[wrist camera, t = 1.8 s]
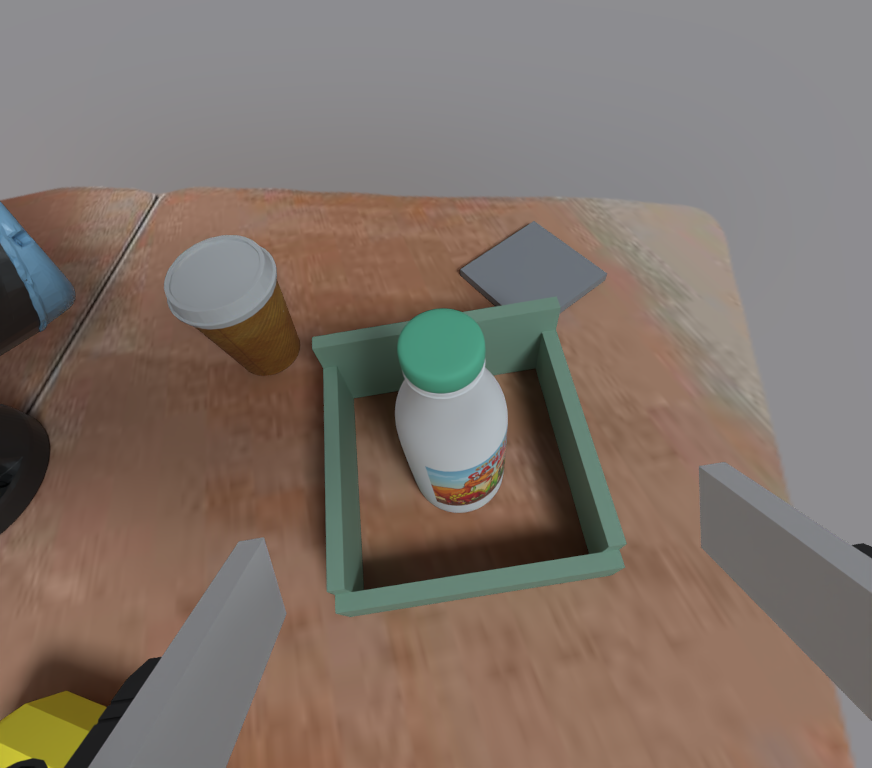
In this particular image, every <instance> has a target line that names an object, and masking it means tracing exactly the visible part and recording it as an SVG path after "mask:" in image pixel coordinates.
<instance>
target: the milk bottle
mask: <svg viewBox="0 0 872 768" xmlns="http://www.w3.org/2000/svg"><path fill="white" fill-rule="evenodd" d="M485 352H486V348H485V339H484V335H483V333H482V331H481V329H480V327H479V325H478V324H477V323H476V322H475V320H474V319H472V318H471V317H470V316H468V315H467V314H465V313H463V312H460V311H457V310H453V309H445V308H441V309H433V310H429V311H426V312H423V313H421V314H419V315H417V316H415V317H414V318H413V319H411V320H410V321H409V322H408V323H407V324H406V325H405V327H404V328H403V330H402V331H401V333H400V336H399V339H398V344H397V354H398V359H399V363H400V366H401V369H402V372H403V376H404V378H405V380H404V381H403V383H402V385H401V387H400V390H399V392H398V395H397V399H396V406H395V421H396V429H397V432H398V436H399V439H400V442H401V446H402V448H403V451H404V453H405V456H406V459H407V461H408V464H409V466H410V468H411V471H412V473H413V476H414V478H415V480H416V483H417V485H418V487H419V489H420V491H421V492H422V494H423V495H424V497H425V498H426V499H427V500H428V501H429V502H430V503H432V504H433V505H434V506H436V507H438V508H440V509H442V510H445V511H449V512H455V513H463V512H469V511H473V510H476V509H478V508H480V507H482V506H483V505H485V504H486V503H488V502H489V501H490V500H491V499H492V498H493V497H494V495H495V494H496V493H497V491H498V489H499V487H500V485H501V482H502V478H503V473H504V464H505V454H506V443H507V430H508V413H507V406H506V401H505V397H504V394H503V392H502V390H501V387H500V385H499V384H498V382H497V380H496V379H495V378H494V376H493V375H492V374H491V373H490V372H489V370H487V369H486V368H485Z"/></svg>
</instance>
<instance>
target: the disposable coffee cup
mask: <svg viewBox="0 0 872 768" xmlns="http://www.w3.org/2000/svg"><path fill="white" fill-rule="evenodd" d="M276 278H277V270H276V265H275V262H274V259H273V257H272V256H271V255H270V253H269V252H268V251H266V250H265V249H264V248H262V247H260V246H259V245H258V244H257V243H255V242H254V241H252V240H251V239H248V238H246V237H242V236H237V235H222V236H218V237H213V238H209V239H206V240H204V241H202V242H200V243H197V244H195V245H193V246H192V247H190V248H189V249H187V250H186V251H184V252H183V253H182V254H181V255H180V256H179V257H178V258H177V259H176V260H175V262H174V263H173V264H172V265H171V267H170V268H169V270H168V272H167V274H166V277H165V282H164V290H165V294H166V296H167V302H168V306H169V308H170V310H171V312H172V313H173V314H174V315H175V316H176V317H177V318H178V319H179V320H180V321H182V322H184V323H187V324H189V325H191V326H194V327H196V328H197V329H198V330H200V332H202V333H204V335H205V336H207V337H208V338H209V339H210V340H212V341H213V342H214V343H215V344H217V345H218V346H219V347H220V348H221V349H223V350H224V351H225V352H226V353H228V354H229V355H230V356H231V357H232V358H234V359H235V360H236V361H237V362H238V363H240V364H241V365H242V366H243V367H245V368H246V369H247V370H248V371H249V372H251V373H253V374H256V375H261V376H266V375H273V374H276V373H279V372H281V371H283V370H284V369H286V368H287V367H289V366H290V365H291V364H292V363H293V361H294V360H295V359H296V357H297V356H298V353H299V350H300V340H299V338H298V335H297V333H296V330H295V327H294V325H293V322H292V319H291V316H290V314H289V311H288V308H287V306H286V303H285V300H284V297H283V295H282V292H281V289H280V287H279V284H278V281H277V279H276Z"/></svg>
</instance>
